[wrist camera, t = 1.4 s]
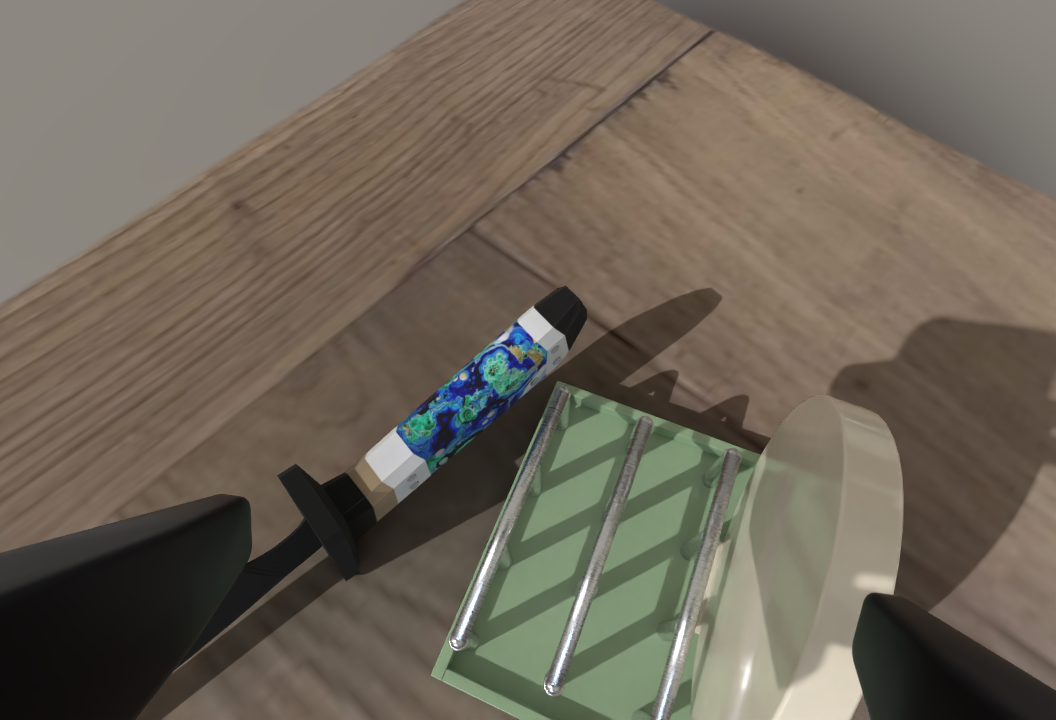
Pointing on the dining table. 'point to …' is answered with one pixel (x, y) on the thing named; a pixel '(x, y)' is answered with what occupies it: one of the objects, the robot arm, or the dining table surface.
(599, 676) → the dish rack
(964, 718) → the robot arm
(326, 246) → the dining table surface
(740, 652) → the plate
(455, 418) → the knife
